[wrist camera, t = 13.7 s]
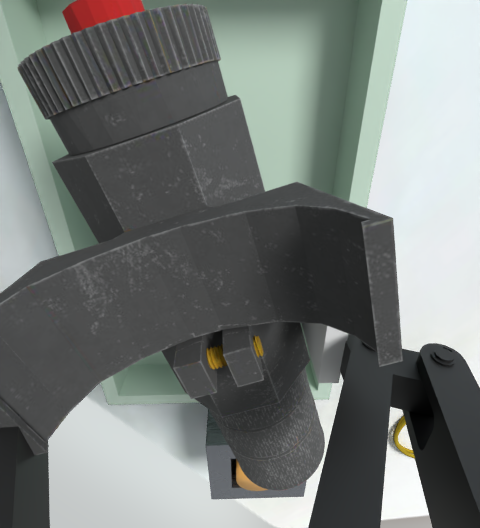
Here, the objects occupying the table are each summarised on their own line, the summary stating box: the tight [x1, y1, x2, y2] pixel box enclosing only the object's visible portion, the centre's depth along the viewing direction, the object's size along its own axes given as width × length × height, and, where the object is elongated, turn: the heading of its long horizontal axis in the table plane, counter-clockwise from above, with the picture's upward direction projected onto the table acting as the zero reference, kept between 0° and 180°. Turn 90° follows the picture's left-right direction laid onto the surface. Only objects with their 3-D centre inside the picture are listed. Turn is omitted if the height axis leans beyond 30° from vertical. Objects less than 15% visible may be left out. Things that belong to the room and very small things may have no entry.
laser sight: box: [0, 0, 403, 491], centre depth 13 cm, size 10×22×10 cm, turn 17°
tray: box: [0, 0, 407, 405], centre depth 20 cm, size 27×17×4 cm, turn 1°
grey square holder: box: [206, 409, 306, 499], centre depth 29 cm, size 8×8×6 cm
